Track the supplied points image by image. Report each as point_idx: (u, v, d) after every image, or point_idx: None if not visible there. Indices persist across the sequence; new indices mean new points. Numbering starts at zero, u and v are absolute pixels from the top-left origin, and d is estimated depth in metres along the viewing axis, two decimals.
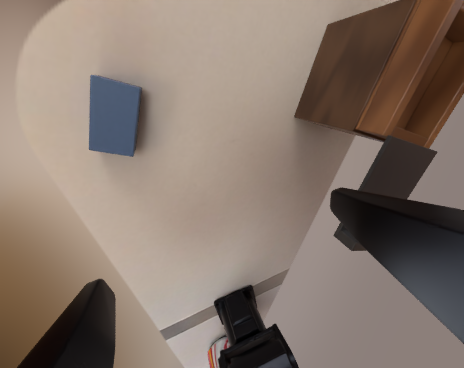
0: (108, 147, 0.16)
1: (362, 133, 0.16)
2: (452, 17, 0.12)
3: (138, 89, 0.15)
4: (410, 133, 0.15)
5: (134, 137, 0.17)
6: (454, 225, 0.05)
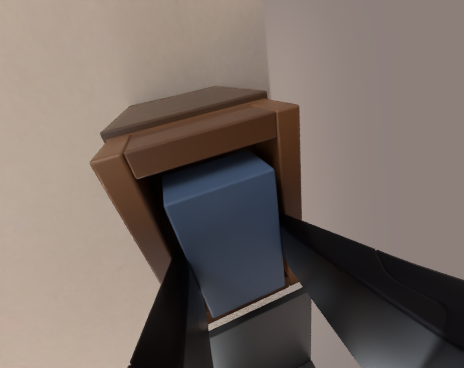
0: (242, 297, 0.08)
1: None
2: (133, 199, 0.06)
3: (271, 173, 0.06)
4: None
5: (281, 258, 0.08)
6: (359, 271, 0.04)
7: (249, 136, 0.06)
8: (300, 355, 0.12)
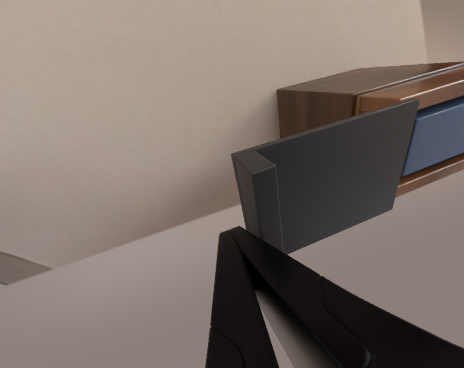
0: (417, 143, 0.11)
1: (352, 115, 0.11)
2: None
3: None
4: None
5: (424, 166, 0.12)
6: (297, 300, 0.04)
7: None
8: (294, 240, 0.10)
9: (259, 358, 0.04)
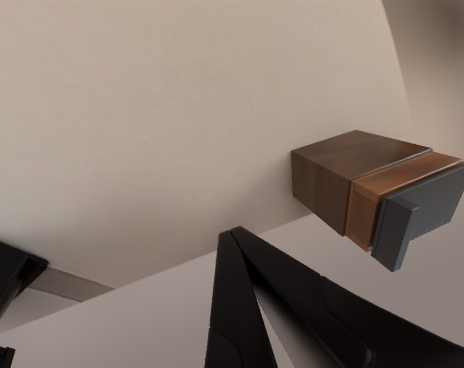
0: None
1: (348, 192, 0.16)
2: None
3: None
4: None
5: None
6: (298, 300, 0.04)
7: None
8: None
9: (258, 358, 0.04)
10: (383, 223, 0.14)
